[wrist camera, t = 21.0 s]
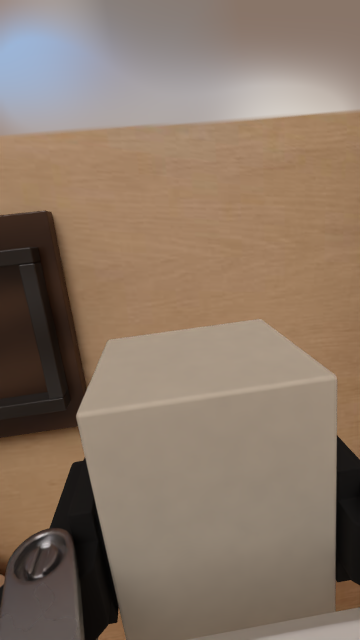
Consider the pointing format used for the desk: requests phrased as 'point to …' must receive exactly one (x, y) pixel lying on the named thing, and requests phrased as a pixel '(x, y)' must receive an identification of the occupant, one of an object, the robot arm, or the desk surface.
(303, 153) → the desk surface
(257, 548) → the cream pad
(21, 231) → the back plate
